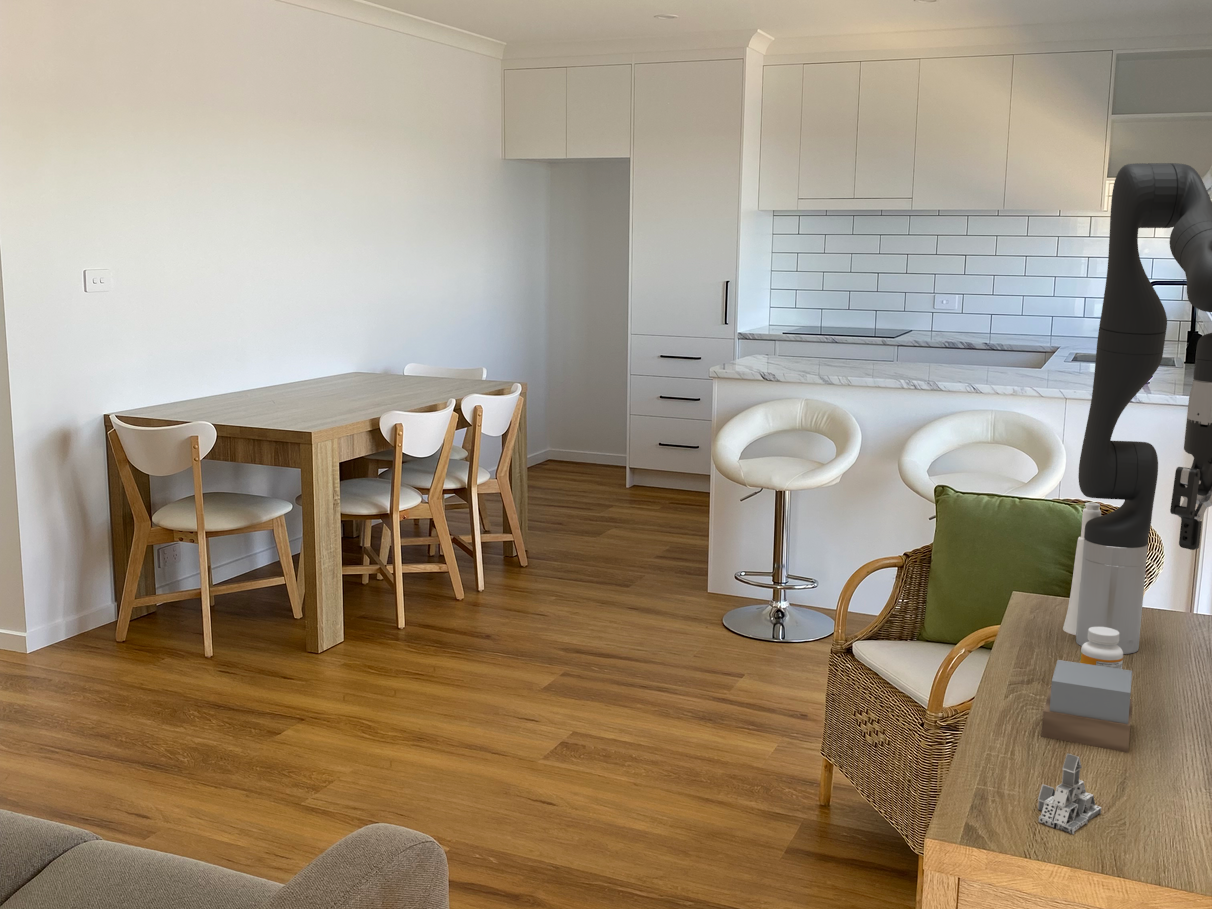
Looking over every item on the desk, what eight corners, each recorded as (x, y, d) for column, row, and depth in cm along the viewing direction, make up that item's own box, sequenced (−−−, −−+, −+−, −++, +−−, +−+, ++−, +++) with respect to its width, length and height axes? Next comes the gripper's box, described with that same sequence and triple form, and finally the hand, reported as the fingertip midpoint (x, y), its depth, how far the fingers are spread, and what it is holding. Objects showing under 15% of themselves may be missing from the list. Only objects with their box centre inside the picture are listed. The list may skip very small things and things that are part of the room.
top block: (1055, 688, 147) (1057, 659, 146) (1129, 700, 143) (1132, 670, 142) (1049, 711, 139) (1051, 680, 138) (1128, 724, 135) (1130, 692, 134)
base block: (1048, 714, 148) (1050, 686, 148) (1130, 728, 144) (1132, 699, 143) (1041, 741, 140) (1043, 711, 139) (1127, 756, 135) (1130, 725, 134)
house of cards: (1032, 787, 126) (1036, 723, 125) (1108, 814, 120) (1114, 747, 119) (993, 811, 120) (998, 745, 119) (1071, 841, 114) (1077, 771, 113)
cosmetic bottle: (1095, 627, 186) (1105, 500, 183) (1107, 638, 180) (1118, 507, 177) (1058, 626, 187) (1067, 499, 184) (1069, 637, 181) (1079, 506, 178)
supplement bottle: (1073, 689, 157) (1078, 623, 155) (1114, 692, 156) (1119, 626, 154) (1081, 702, 152) (1087, 635, 150) (1123, 706, 150) (1129, 638, 149)
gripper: (1222, 409, 143) (1208, 530, 146) (1159, 417, 136) (1146, 544, 139) (1282, 417, 137) (1267, 543, 140) (1220, 425, 129) (1205, 558, 132)
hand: (1207, 543), depth 139 cm, fingers open, 8 cm apart
